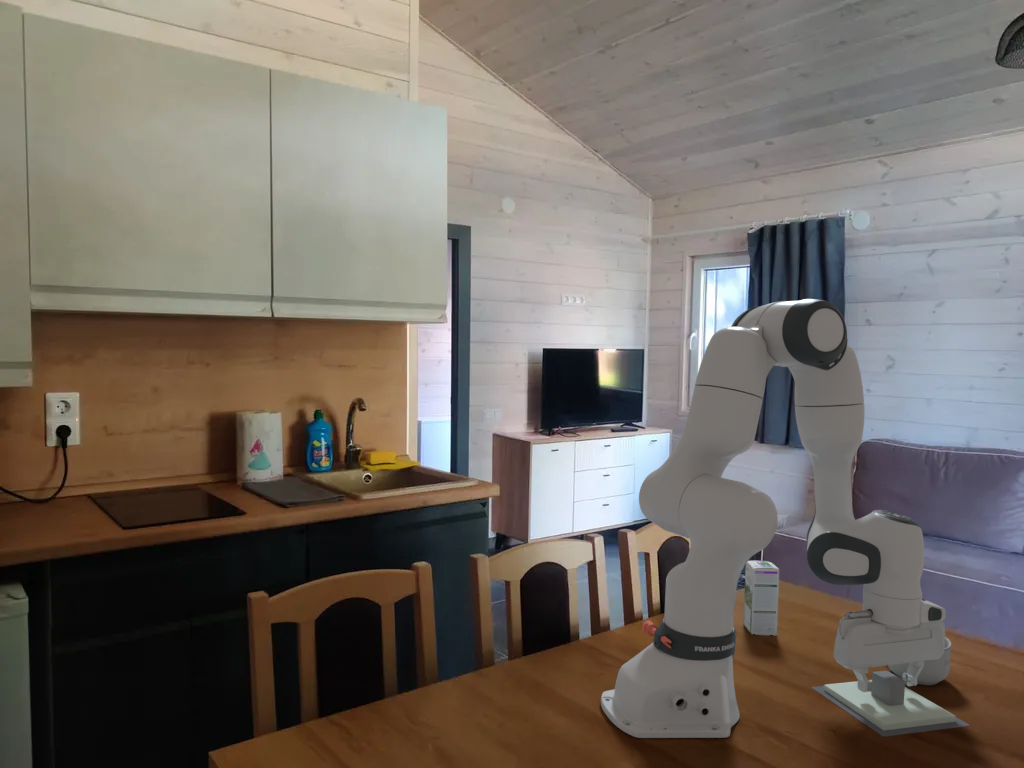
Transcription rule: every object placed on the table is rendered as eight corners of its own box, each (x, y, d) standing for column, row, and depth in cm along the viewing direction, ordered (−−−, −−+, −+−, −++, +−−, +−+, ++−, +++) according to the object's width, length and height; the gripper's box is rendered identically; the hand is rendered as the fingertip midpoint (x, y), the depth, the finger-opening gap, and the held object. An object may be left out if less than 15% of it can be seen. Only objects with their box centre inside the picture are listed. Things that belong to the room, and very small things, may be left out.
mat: (883, 739, 113) (883, 736, 113) (810, 689, 129) (810, 687, 129) (970, 727, 118) (970, 725, 118) (889, 681, 134) (890, 679, 134)
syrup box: (777, 636, 154) (781, 568, 153) (749, 635, 154) (753, 567, 154) (768, 626, 160) (772, 560, 159) (741, 624, 160) (745, 559, 159)
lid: (883, 730, 115) (885, 699, 115) (823, 690, 128) (825, 662, 128) (955, 721, 119) (957, 691, 118) (889, 683, 132) (891, 656, 132)
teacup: (958, 695, 129) (961, 651, 129) (892, 687, 131) (895, 644, 131) (930, 663, 143) (932, 623, 143) (870, 656, 145) (873, 617, 145)
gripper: (854, 619, 117) (850, 703, 118) (954, 609, 123) (949, 689, 124) (827, 605, 124) (823, 685, 124) (923, 597, 129) (919, 673, 130)
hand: (887, 687), depth 124 cm, fingers open, 8 cm apart
